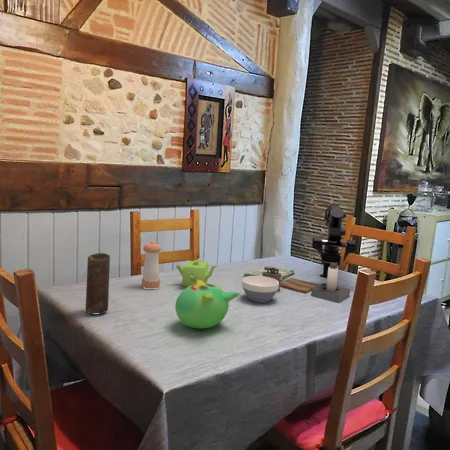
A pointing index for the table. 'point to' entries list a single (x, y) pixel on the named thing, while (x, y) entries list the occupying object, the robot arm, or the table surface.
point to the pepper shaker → (151, 266)
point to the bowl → (260, 288)
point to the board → (298, 285)
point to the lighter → (272, 274)
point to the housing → (330, 293)
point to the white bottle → (332, 277)
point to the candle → (97, 283)
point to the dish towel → (258, 272)
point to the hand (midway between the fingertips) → (332, 260)
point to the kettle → (195, 272)
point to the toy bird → (203, 305)
